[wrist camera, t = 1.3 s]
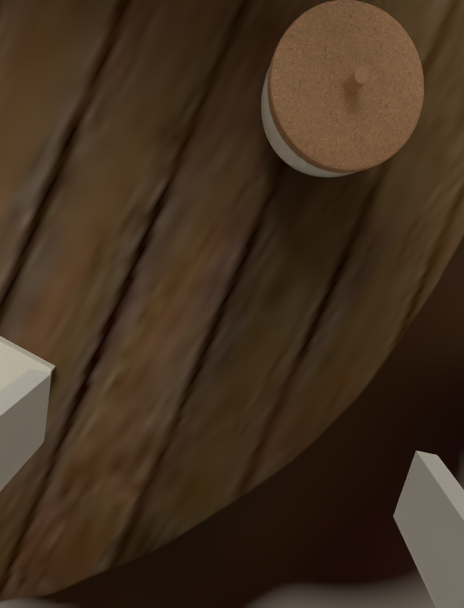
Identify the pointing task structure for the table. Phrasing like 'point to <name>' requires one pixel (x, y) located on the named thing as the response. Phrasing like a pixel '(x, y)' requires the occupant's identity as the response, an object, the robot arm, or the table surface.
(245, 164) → the table surface
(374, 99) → the lidded jar
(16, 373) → the placemat
